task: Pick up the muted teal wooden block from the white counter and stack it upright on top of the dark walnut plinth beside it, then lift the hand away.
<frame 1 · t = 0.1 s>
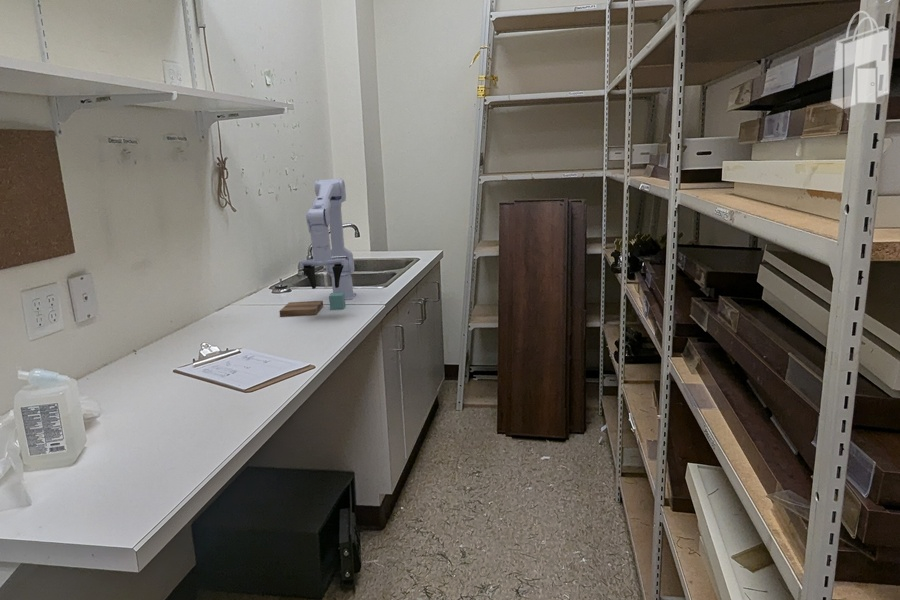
hand: (325, 287, 187), 10 cm above the countertop, fingers open, 7 cm apart
walnut plinth: (302, 311, 198), on the countertop
teal block: (338, 308, 200), on the countertop
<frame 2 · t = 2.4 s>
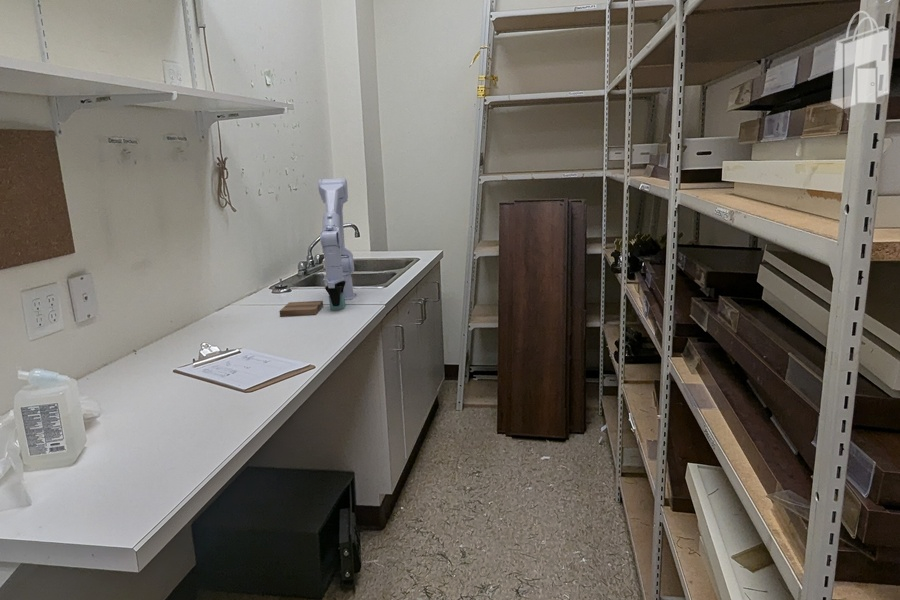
hand: (337, 304, 200), 1 cm above the countertop, fingers closed on teal block, 4 cm apart
teal block: (338, 308, 200), on the countertop, touching gripper
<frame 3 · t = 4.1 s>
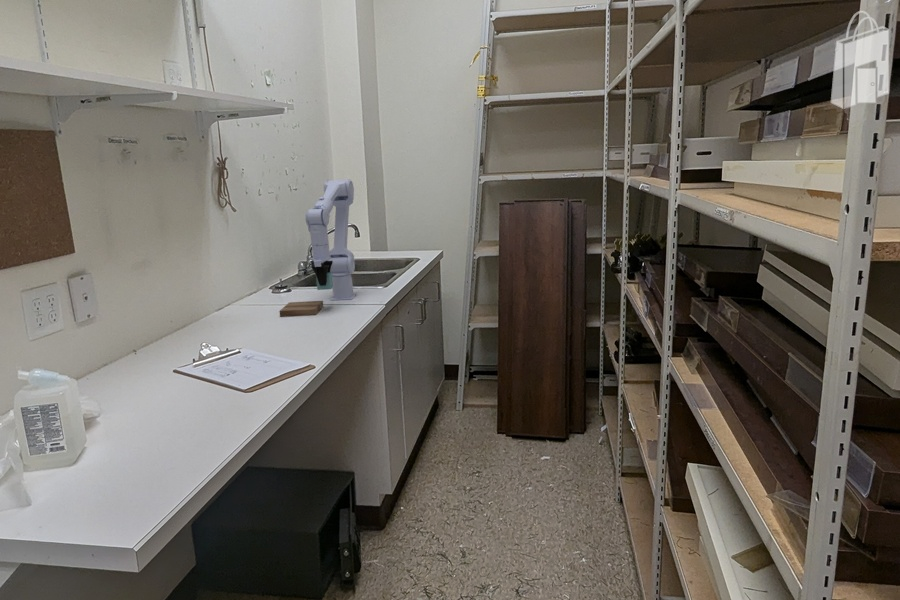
hand: (324, 283, 197), 9 cm above the countertop, fingers closed on teal block, 4 cm apart
teal block: (325, 288, 197), point 7 cm above the countertop, touching gripper
when the fingers open (5 cm above the countertop, at t = 6.2 s): teal block drops 1 cm, resting on walnut plinth.
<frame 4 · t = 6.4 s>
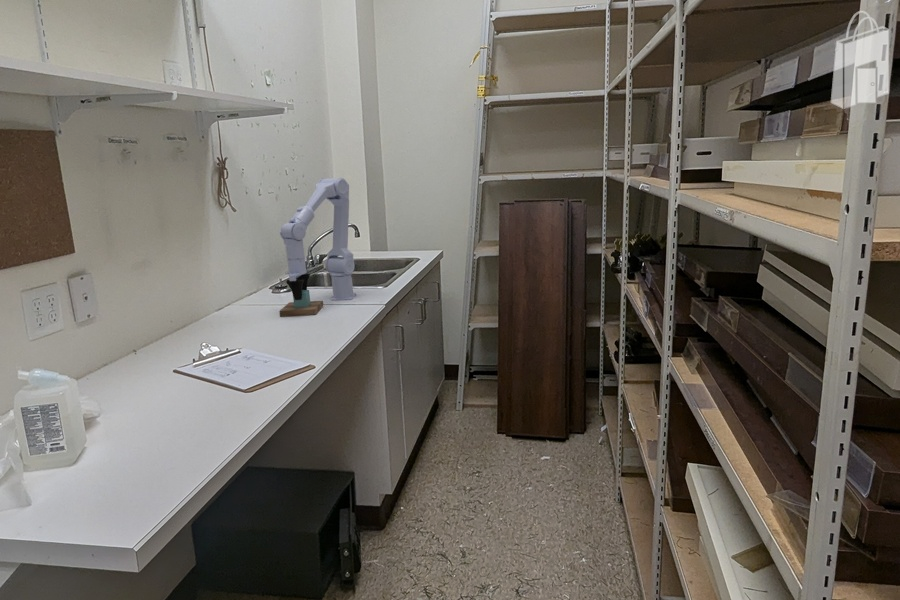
hand: (300, 297, 197), 5 cm above the countertop, fingers open, 6 cm apart
teal block: (302, 305, 198), point 2 cm above the countertop, touching walnut plinth
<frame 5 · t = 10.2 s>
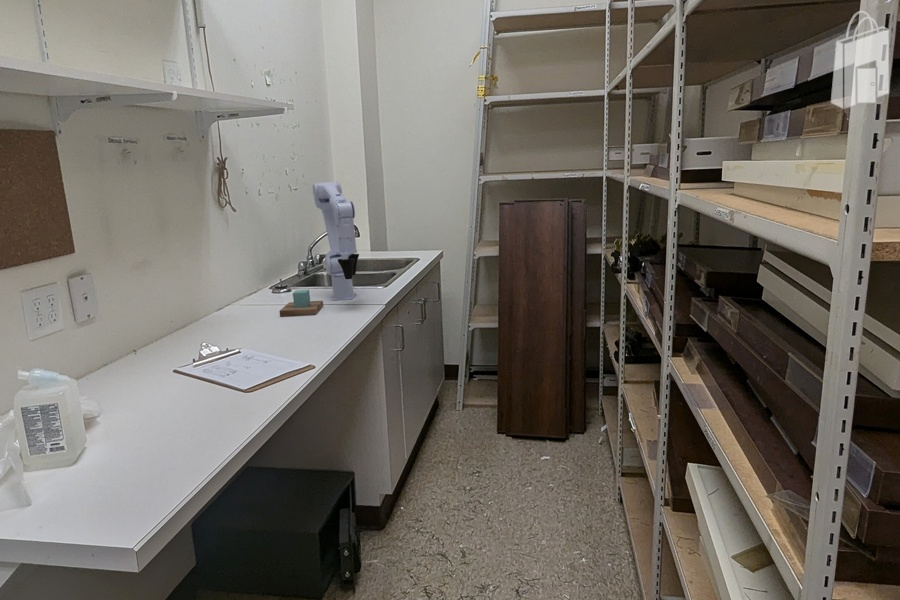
hand: (350, 276, 199), 10 cm above the countertop, fingers open, 7 cm apart
nothing on the countertop moved.
at the end: teal block inside the target area on the walnut plinth (0.3 cm from its centre), point 2.0 cm above the walnut plinth's base; teal block tilted 0°; the gripper is holding nothing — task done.
